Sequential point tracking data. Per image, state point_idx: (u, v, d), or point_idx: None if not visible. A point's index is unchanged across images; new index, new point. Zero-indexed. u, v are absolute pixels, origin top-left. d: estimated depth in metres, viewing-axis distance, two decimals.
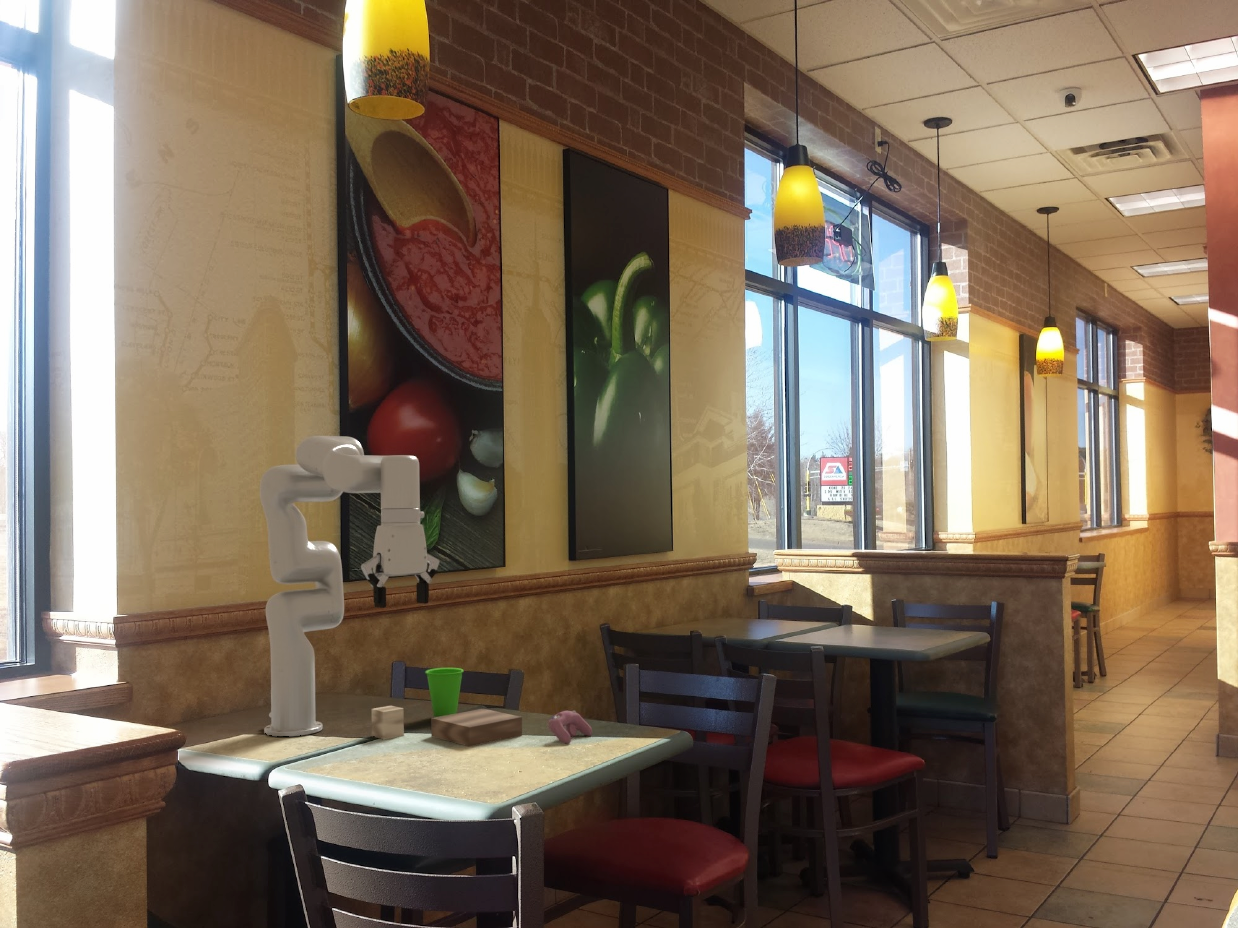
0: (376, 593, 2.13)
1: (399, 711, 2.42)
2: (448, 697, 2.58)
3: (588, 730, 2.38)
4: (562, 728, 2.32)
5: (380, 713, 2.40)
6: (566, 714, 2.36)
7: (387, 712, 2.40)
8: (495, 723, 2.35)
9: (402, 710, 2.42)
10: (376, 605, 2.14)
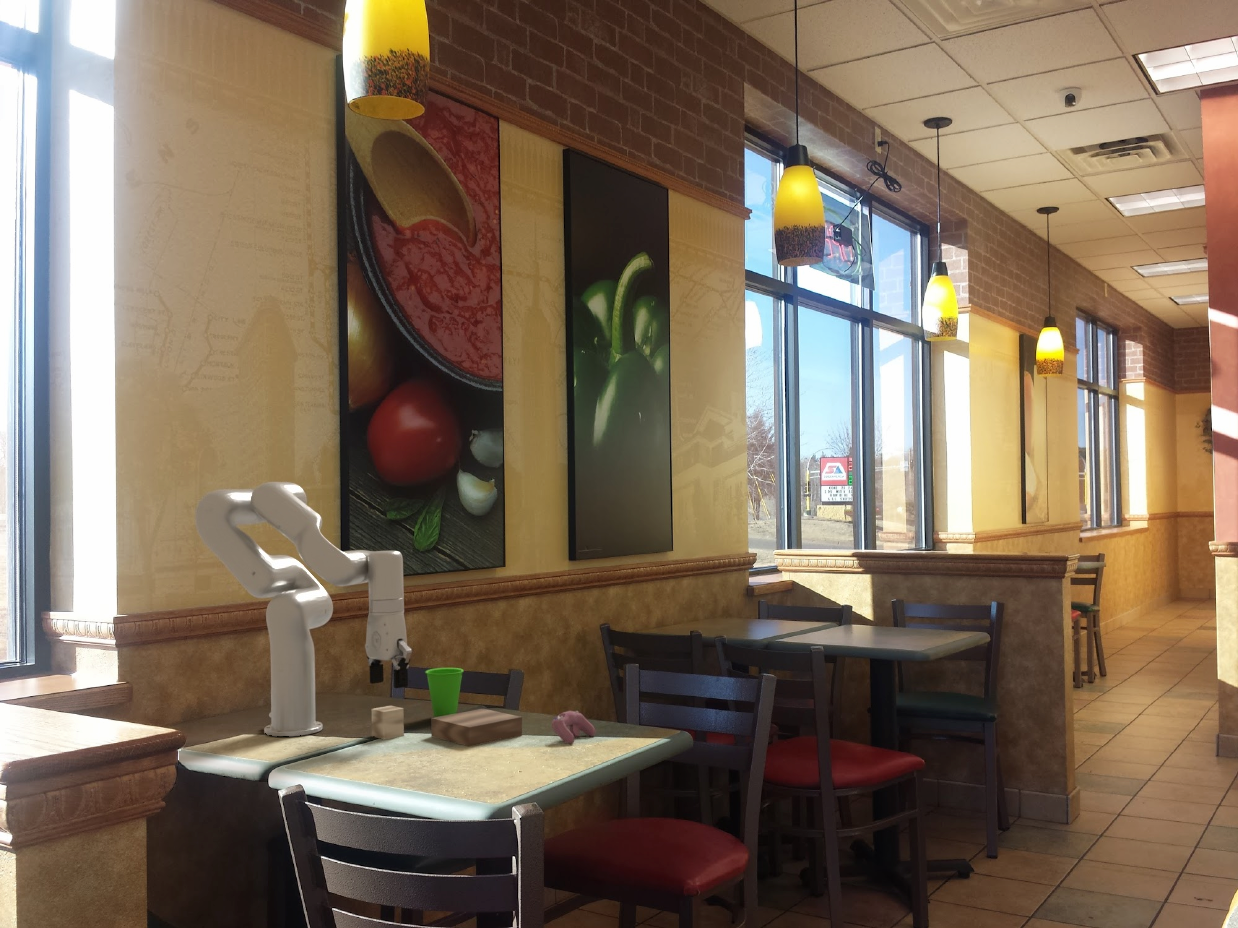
0: (404, 674, 2.38)
1: (399, 711, 2.42)
2: (448, 697, 2.58)
3: (591, 730, 2.38)
4: (565, 728, 2.32)
5: (380, 713, 2.40)
6: (569, 714, 2.36)
7: (387, 712, 2.39)
8: (495, 723, 2.35)
9: (402, 710, 2.42)
10: (398, 686, 2.38)
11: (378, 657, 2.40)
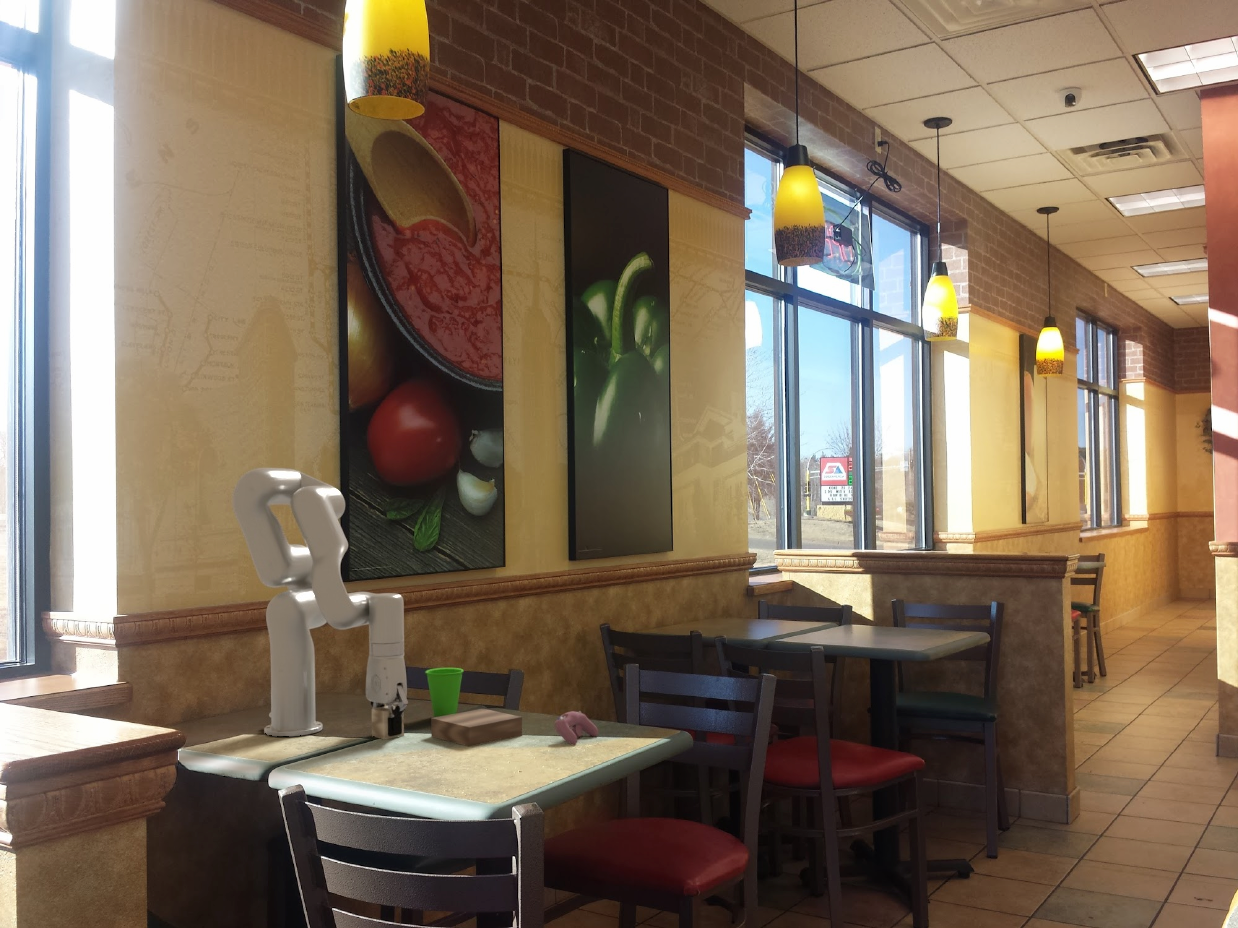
0: (398, 722, 2.40)
1: None
2: (448, 697, 2.58)
3: (594, 731, 2.38)
4: (568, 729, 2.32)
5: (380, 713, 2.40)
6: (572, 715, 2.35)
7: (387, 712, 2.40)
8: (495, 723, 2.35)
9: None
10: (392, 734, 2.39)
11: (378, 700, 2.40)
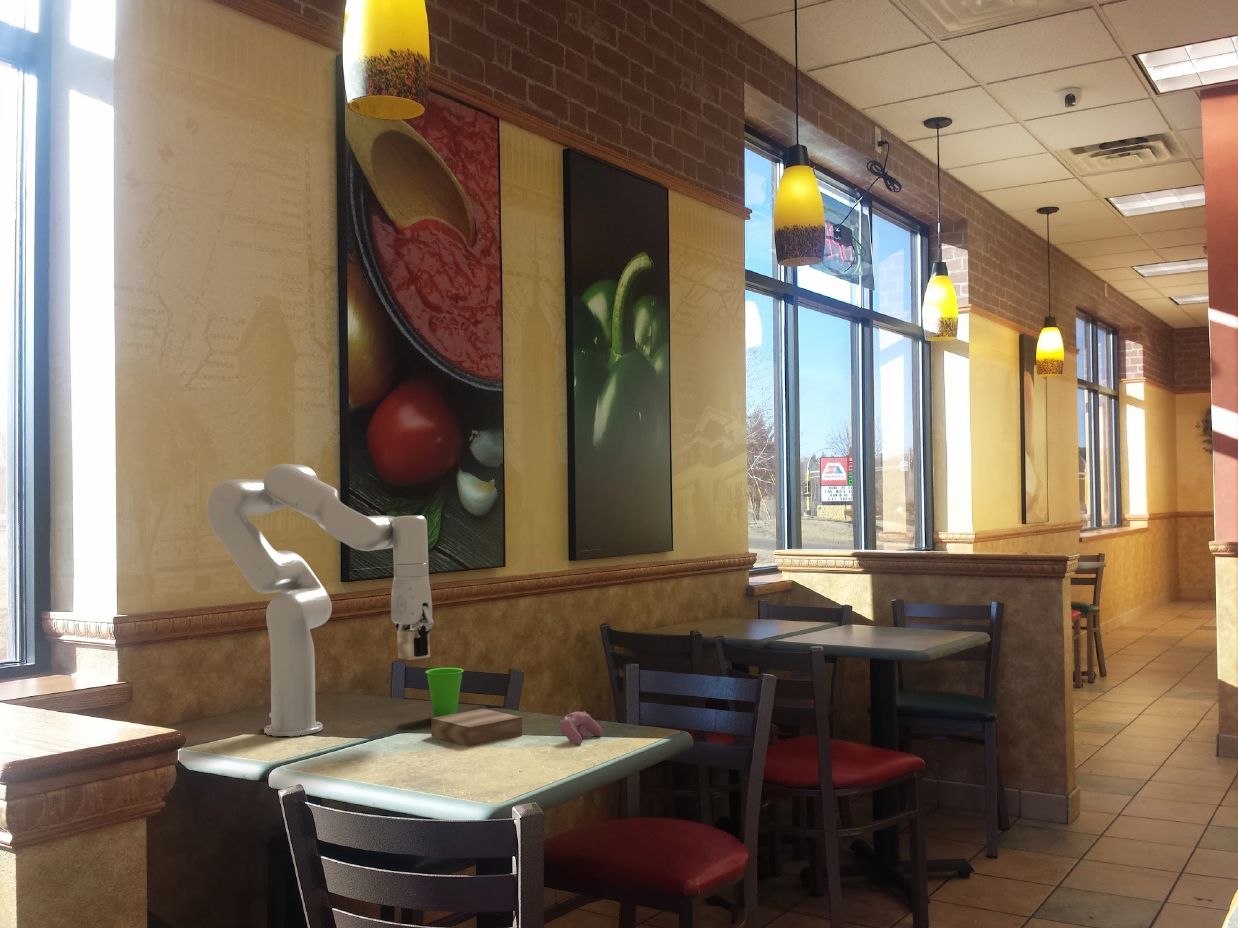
0: (424, 643, 2.40)
1: None
2: (448, 697, 2.58)
3: (599, 731, 2.37)
4: (573, 729, 2.31)
5: (406, 634, 2.40)
6: (577, 715, 2.35)
7: (413, 632, 2.39)
8: (495, 723, 2.35)
9: None
10: (418, 654, 2.39)
11: (403, 621, 2.40)
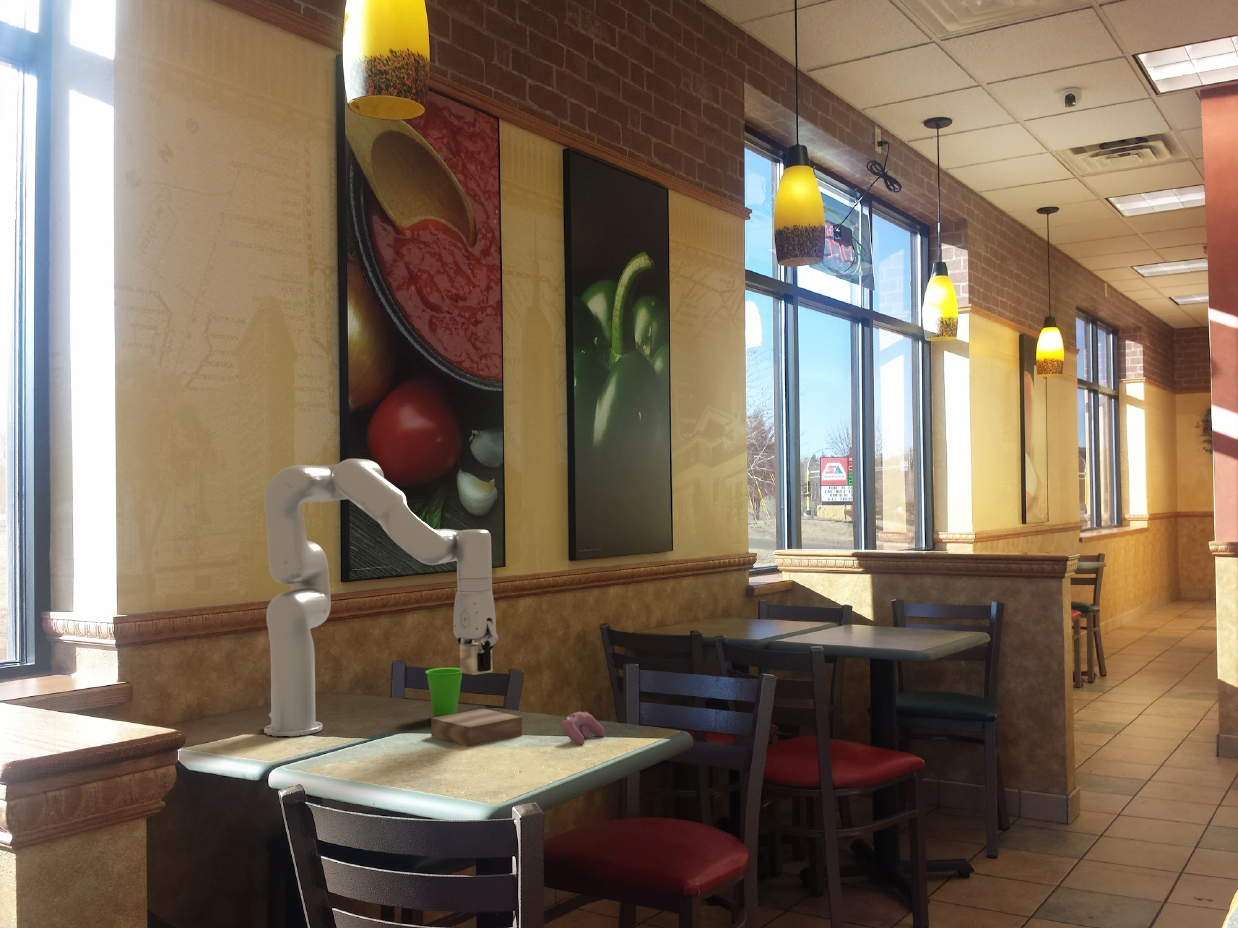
0: (487, 658, 2.38)
1: None
2: (448, 697, 2.58)
3: (601, 731, 2.37)
4: (575, 729, 2.31)
5: (469, 648, 2.38)
6: (579, 715, 2.35)
7: (477, 647, 2.38)
8: (495, 723, 2.35)
9: None
10: (481, 670, 2.38)
11: (467, 636, 2.38)
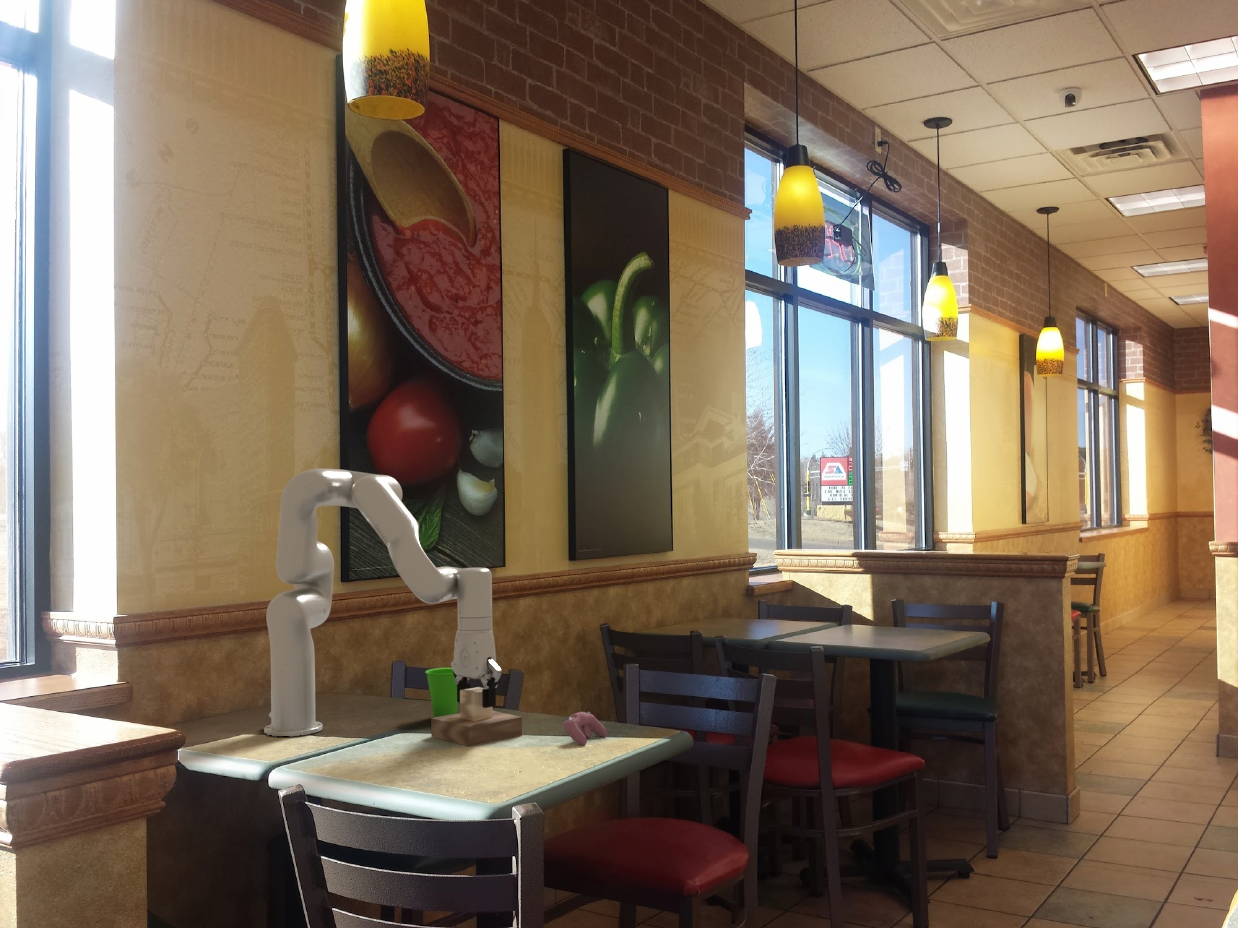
0: (492, 694, 2.37)
1: None
2: (448, 697, 2.58)
3: (603, 731, 2.37)
4: (577, 729, 2.31)
5: (469, 694, 2.38)
6: (581, 715, 2.34)
7: (477, 693, 2.38)
8: (495, 723, 2.35)
9: None
10: (486, 706, 2.36)
11: (467, 675, 2.38)
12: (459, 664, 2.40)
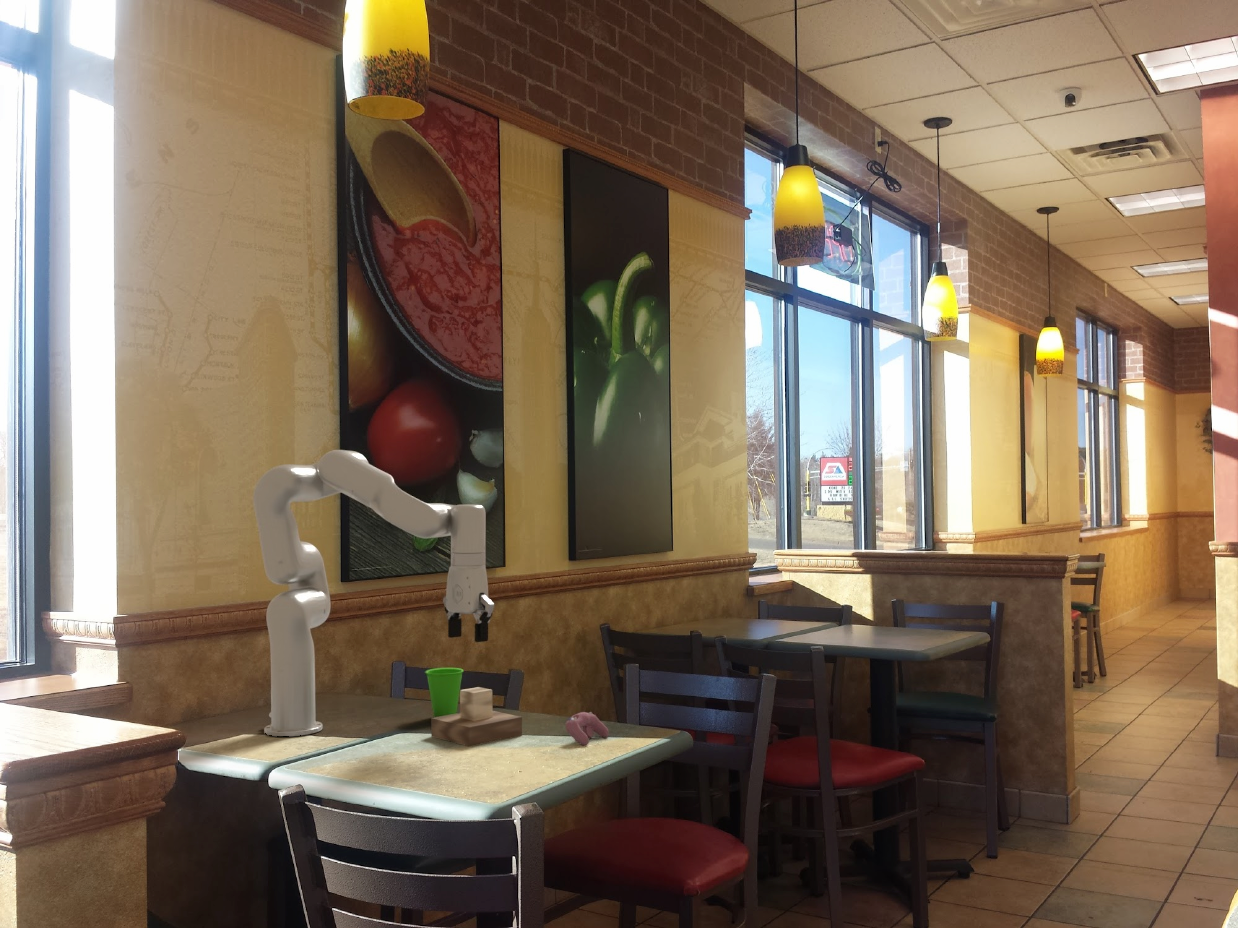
0: (485, 629, 2.37)
1: (488, 692, 2.40)
2: (448, 697, 2.58)
3: (605, 731, 2.37)
4: (579, 730, 2.30)
5: (469, 694, 2.38)
6: (583, 715, 2.34)
7: (477, 693, 2.38)
8: (495, 723, 2.35)
9: (491, 691, 2.40)
10: (478, 640, 2.37)
11: (459, 610, 2.39)
12: (451, 600, 2.41)
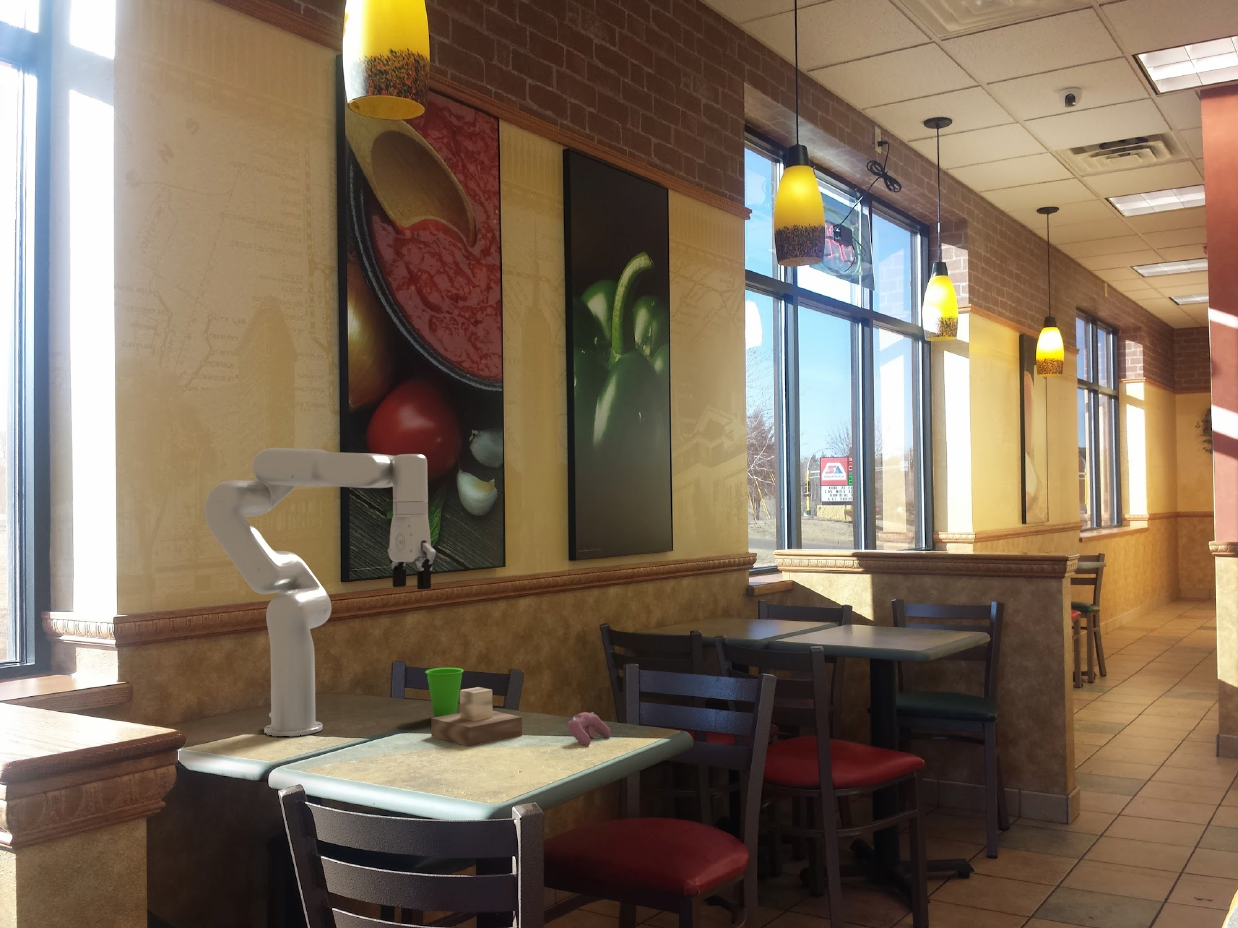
0: (427, 576, 2.39)
1: (488, 692, 2.40)
2: (448, 697, 2.58)
3: (607, 732, 2.36)
4: (581, 730, 2.30)
5: (469, 694, 2.38)
6: (585, 716, 2.34)
7: (477, 693, 2.38)
8: (495, 723, 2.35)
9: (491, 691, 2.40)
10: (421, 587, 2.39)
11: (402, 559, 2.41)
12: (394, 549, 2.43)
